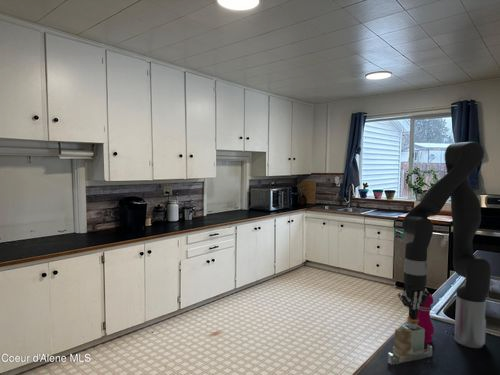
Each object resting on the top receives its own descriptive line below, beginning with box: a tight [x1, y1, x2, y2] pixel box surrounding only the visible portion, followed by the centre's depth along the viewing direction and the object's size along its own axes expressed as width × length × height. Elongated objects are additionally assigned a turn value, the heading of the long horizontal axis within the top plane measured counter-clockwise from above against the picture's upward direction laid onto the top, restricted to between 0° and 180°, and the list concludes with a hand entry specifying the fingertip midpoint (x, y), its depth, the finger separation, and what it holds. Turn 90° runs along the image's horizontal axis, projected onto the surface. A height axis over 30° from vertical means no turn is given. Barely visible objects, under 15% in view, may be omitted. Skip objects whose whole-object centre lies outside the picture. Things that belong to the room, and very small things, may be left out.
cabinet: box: [400, 323, 425, 352], centre depth 124 cm, size 6×5×8 cm
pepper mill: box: [417, 288, 435, 345], centre depth 130 cm, size 7×7×20 cm
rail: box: [387, 343, 433, 366], centre depth 117 cm, size 18×2×4 cm, turn 109°
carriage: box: [392, 327, 413, 362], centre depth 115 cm, size 5×4×10 cm
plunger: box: [406, 315, 419, 331], centre depth 123 cm, size 4×4×6 cm
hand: (413, 318), depth 123 cm, fingers closed
